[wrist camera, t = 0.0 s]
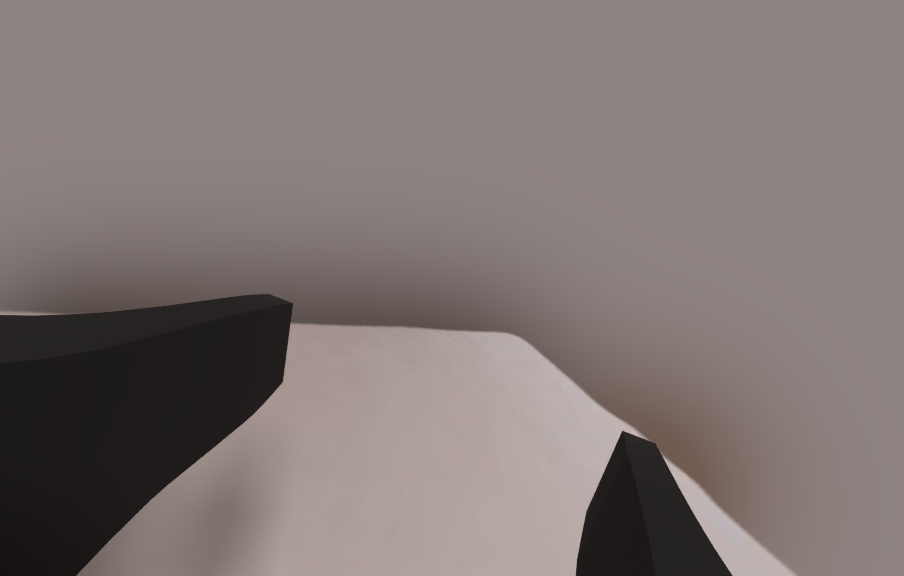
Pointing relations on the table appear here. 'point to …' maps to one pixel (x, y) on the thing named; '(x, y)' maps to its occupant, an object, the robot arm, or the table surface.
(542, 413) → the table surface
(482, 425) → the table surface
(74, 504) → the robot arm
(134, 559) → the table surface
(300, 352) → the table surface
